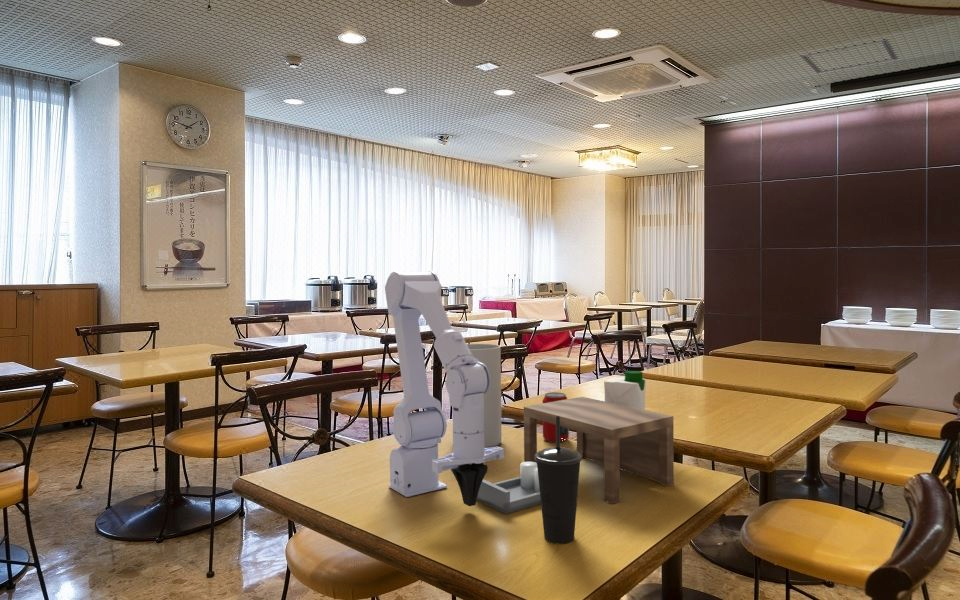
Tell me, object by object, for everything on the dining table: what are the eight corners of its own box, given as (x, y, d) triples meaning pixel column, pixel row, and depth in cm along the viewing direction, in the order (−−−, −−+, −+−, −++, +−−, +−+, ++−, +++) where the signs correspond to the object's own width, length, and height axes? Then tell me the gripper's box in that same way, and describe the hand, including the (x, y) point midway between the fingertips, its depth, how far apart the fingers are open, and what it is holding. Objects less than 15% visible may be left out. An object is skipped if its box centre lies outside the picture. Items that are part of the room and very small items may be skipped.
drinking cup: (551, 524, 106) (550, 409, 105) (591, 535, 101) (590, 415, 100) (526, 539, 100) (525, 417, 99) (566, 552, 95) (565, 424, 95)
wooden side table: (612, 503, 115) (611, 429, 115) (524, 469, 136) (523, 406, 136) (673, 484, 125) (673, 416, 125) (582, 454, 147) (582, 396, 146)
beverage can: (570, 443, 157) (570, 396, 157) (543, 443, 157) (543, 396, 157) (567, 436, 164) (566, 391, 163) (541, 436, 164) (541, 391, 163)
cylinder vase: (480, 434, 167) (479, 342, 166) (511, 443, 158) (510, 346, 157) (443, 442, 159) (441, 346, 158) (473, 453, 150) (472, 350, 149)
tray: (505, 514, 111) (505, 485, 111) (474, 498, 119) (473, 471, 119) (570, 495, 120) (570, 468, 120) (537, 481, 128) (537, 457, 128)
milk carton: (638, 462, 140) (638, 375, 140) (600, 456, 145) (599, 372, 144) (649, 452, 148) (648, 370, 147) (612, 447, 153) (612, 367, 152)
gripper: (446, 441, 104) (447, 520, 105) (513, 428, 113) (514, 501, 113) (425, 433, 110) (426, 507, 111) (490, 421, 118) (491, 490, 119)
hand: (469, 504), depth 112 cm, fingers closed
